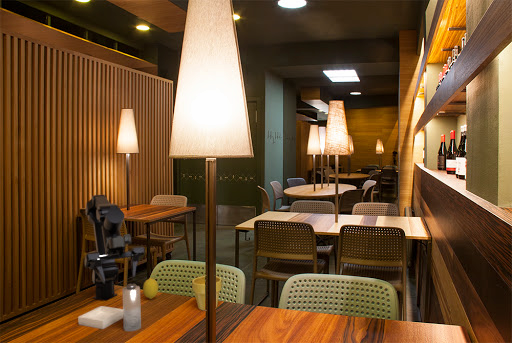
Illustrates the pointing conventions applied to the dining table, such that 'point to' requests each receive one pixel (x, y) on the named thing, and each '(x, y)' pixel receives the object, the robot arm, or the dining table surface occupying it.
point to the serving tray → (101, 317)
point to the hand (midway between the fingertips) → (119, 280)
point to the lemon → (150, 288)
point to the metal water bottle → (131, 307)
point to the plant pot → (199, 290)
